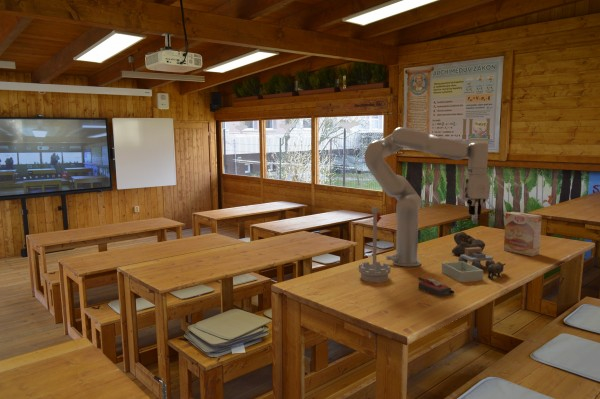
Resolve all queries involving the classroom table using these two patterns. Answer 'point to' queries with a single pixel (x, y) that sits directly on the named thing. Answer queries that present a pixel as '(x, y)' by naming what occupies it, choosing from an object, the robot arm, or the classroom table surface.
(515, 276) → the classroom table surface
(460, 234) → the decorative stone
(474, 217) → the pin
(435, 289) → the walkie-talkie
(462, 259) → the trolley
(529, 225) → the coffeecake box
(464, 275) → the tray
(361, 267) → the flag stand
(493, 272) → the rhino figurine
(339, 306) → the classroom table surface
